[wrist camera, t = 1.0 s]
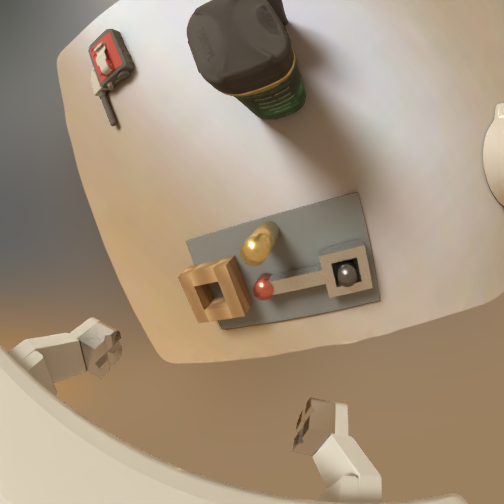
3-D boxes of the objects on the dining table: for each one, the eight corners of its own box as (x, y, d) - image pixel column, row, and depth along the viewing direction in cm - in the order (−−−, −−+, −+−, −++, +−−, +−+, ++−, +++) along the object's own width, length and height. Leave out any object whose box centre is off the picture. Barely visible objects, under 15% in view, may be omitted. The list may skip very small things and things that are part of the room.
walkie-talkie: (88, 55, 36) (115, 129, 40) (73, 52, 32) (98, 128, 36) (119, 26, 33) (151, 99, 37) (104, 20, 29) (135, 95, 33)
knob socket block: (361, 238, 35) (364, 245, 32) (369, 278, 36) (372, 288, 33) (252, 265, 40) (246, 273, 37) (264, 300, 41) (259, 311, 39)
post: (351, 253, 36) (355, 267, 31) (355, 269, 37) (358, 284, 32) (334, 257, 37) (336, 271, 32) (338, 273, 37) (340, 288, 33)
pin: (276, 218, 37) (261, 236, 29) (282, 239, 38) (270, 262, 30) (255, 224, 38) (236, 243, 30) (262, 244, 39) (245, 268, 31)
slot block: (234, 255, 40) (225, 265, 37) (252, 302, 42) (245, 316, 39) (189, 266, 43) (177, 276, 39) (208, 310, 45) (198, 323, 41)
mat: (357, 192, 34) (357, 192, 33) (379, 298, 38) (379, 300, 37) (187, 240, 42) (185, 241, 42) (223, 327, 46) (221, 329, 46)
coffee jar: (314, 108, 32) (304, 60, 15) (258, 126, 34) (198, 101, 17) (288, 48, 29) (256, -27, 12) (235, 67, 32) (167, 12, 15)
